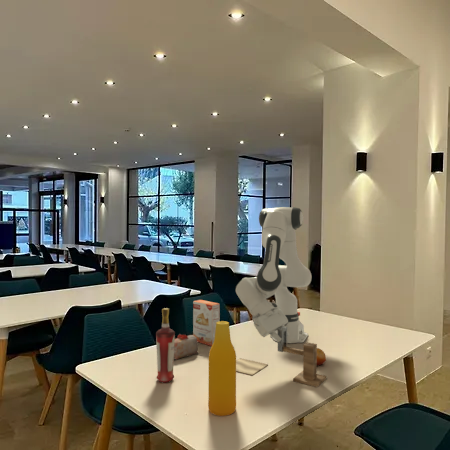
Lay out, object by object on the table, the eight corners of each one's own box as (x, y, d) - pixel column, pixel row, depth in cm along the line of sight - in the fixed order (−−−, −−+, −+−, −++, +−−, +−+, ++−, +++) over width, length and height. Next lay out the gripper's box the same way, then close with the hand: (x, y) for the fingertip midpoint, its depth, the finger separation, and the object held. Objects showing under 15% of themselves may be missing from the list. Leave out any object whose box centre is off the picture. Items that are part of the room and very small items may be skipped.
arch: (282, 347, 168) (282, 326, 168) (287, 348, 167) (287, 327, 167) (277, 351, 164) (277, 329, 163) (282, 352, 163) (282, 330, 162)
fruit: (310, 355, 183) (318, 342, 180) (323, 368, 178) (331, 355, 175) (299, 359, 177) (307, 346, 174) (312, 373, 172) (321, 359, 169)
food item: (175, 361, 179) (175, 339, 178) (165, 356, 185) (165, 335, 184) (199, 354, 188) (199, 333, 188) (189, 350, 194) (189, 330, 194)
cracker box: (192, 341, 208) (192, 300, 208) (200, 338, 213) (201, 299, 212) (211, 347, 199) (211, 304, 198) (220, 344, 203) (220, 303, 203)
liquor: (157, 376, 161) (158, 306, 161) (176, 376, 161) (176, 307, 160) (154, 384, 154) (154, 311, 153) (173, 384, 154) (173, 311, 153)
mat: (240, 358, 182) (240, 358, 182) (267, 365, 174) (267, 364, 174) (223, 368, 170) (223, 367, 170) (252, 375, 162) (252, 374, 162)
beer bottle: (203, 413, 130) (204, 324, 130) (214, 401, 139) (214, 318, 139) (230, 418, 127) (230, 327, 127) (239, 406, 136) (240, 320, 135)
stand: (283, 368, 170) (283, 335, 170) (326, 378, 160) (326, 343, 160) (273, 376, 162) (273, 341, 162) (317, 387, 152) (317, 350, 151)
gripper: (255, 312, 160) (277, 340, 155) (278, 302, 177) (298, 327, 172) (245, 321, 162) (267, 350, 157) (268, 311, 180) (289, 336, 174)
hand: (284, 338), depth 165 cm, fingers closed on arch, 5 cm apart
